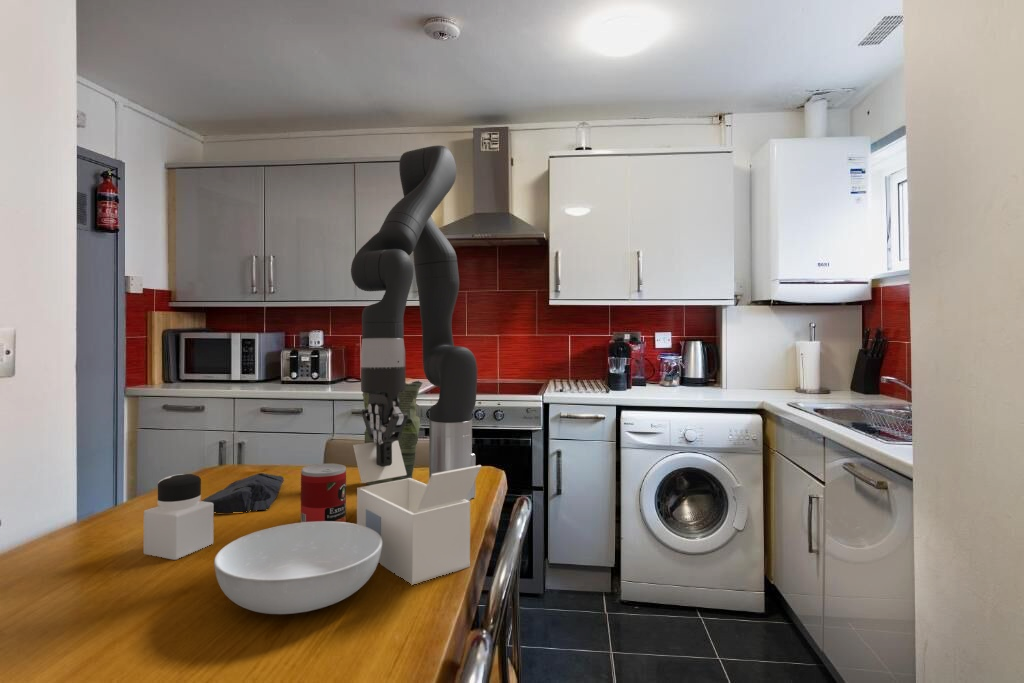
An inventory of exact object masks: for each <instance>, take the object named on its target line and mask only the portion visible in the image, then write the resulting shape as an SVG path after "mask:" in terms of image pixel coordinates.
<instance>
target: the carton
mask: <svg viewBox="0 0 1024 683" xmlns="http://www.w3.org/2000/svg"><path fill="white" fill-rule="evenodd" d="M427 484H428V483H424V482H421V481H420V480H416V479H415V478H413V477H412V478H407V479H402V480H396V481H391V482H386V483H380V484H375V485H369V486H368V485H364V486H360V487H356V524H358V525H362V526H365V527H368V528H370V529H372V530H374V531H376V532H377V533H378V534H379V535H380V536H381V538H382V550H381V555H380V559H379V562H378V564H379V563H380V565H381V566H382V567H384V568H385V569H386V570H388V571H390V572H391V573H393V574H394V573H395V574H394V575H396V576H397V577H398V576H399V577H398V578H400V577H401V578H403V579H404V580H406V581H408V582H409V583H411V584H412V585H413V584H416V583H420V582H422V581H426V580H429V579H432V578H435V579H437V578H436V577H438V576H441V577H443V576H442V575H444V576H447V575H449V573H450V574H452V572H453V573H456V572H459V571H461V570H464V569H468V568H470V567H471V501H470V500H469V501H468V500H466V499H463V500H459V501H455V502H450V503H446V504H442V505H437V506H433V507H429V508H425V509H420V510H418V509H417V508H418V505H419V503H420V501H421V498H422V496H423V493H424V491H425V488H426V486H427ZM446 574H447V575H446ZM401 578H400V579H401ZM438 578H439V577H438ZM403 579H402V580H403ZM404 580H403V581H404ZM432 580H433V579H432ZM406 581H405V582H406ZM429 581H430V580H429ZM426 582H427V581H426ZM409 583H408V584H409ZM420 584H421V583H420ZM412 585H411V586H412Z"/></svg>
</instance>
